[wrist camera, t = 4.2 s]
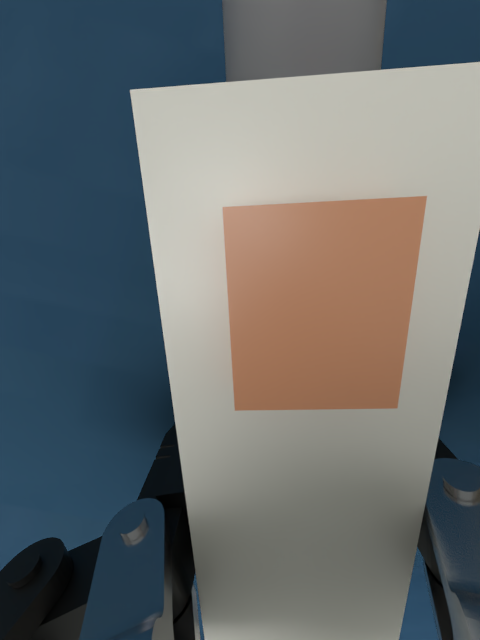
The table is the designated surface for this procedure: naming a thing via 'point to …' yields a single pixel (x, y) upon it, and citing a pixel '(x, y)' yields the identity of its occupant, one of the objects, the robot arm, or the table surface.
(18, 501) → the table surface
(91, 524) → the table surface
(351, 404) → the strip bar
